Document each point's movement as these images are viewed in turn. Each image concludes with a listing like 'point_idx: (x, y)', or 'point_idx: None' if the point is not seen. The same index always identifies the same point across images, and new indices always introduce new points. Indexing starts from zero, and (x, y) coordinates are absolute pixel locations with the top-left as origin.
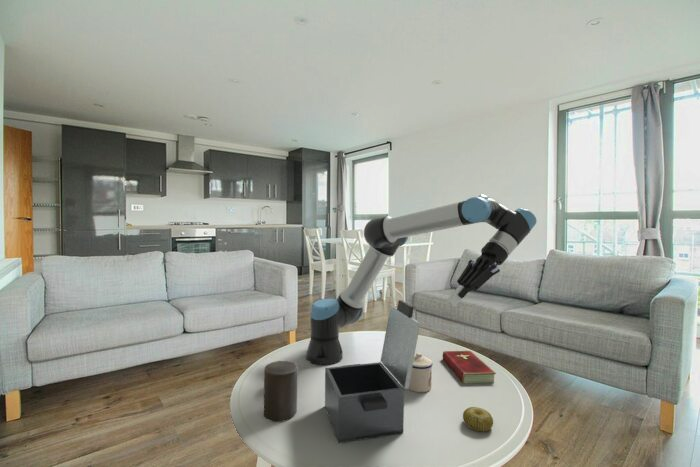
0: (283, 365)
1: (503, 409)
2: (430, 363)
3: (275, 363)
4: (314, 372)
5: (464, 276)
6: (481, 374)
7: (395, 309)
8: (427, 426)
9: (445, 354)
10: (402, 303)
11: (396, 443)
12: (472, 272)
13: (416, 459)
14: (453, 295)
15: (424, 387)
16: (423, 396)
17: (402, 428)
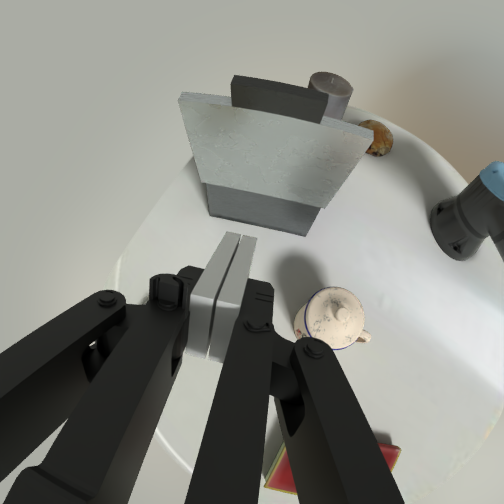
0: (335, 85)
1: (178, 411)
2: (312, 332)
3: (344, 83)
4: (410, 195)
5: (310, 428)
6: (277, 460)
7: (331, 119)
8: (204, 255)
9: (389, 447)
10: (292, 87)
11: (197, 197)
12: (193, 482)
13: (161, 201)
14: (225, 249)
15: (296, 320)
16: (283, 311)
17: (209, 211)
